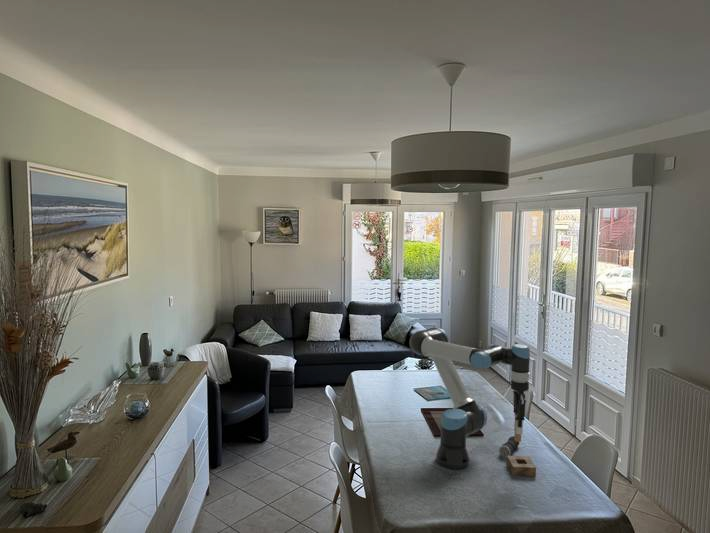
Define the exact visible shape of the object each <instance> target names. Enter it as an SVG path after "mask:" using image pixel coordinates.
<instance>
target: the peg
mask: <svg viewBox="0 0 710 533" xmlns="http://www.w3.org/2000/svg"><path fill="white" fill-rule="evenodd" d="M514 414H515V415H514V423H515V431H514V436H515V438H514V440H515V441H517V442H519V443H520V442H522V434H516V420H515V418H517V413H514Z"/></svg>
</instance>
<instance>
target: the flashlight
mask: <svg viewBox="0 0 710 533" xmlns="http://www.w3.org/2000/svg"><path fill="white" fill-rule="evenodd" d="M514 438H515V435H513V436H510V437H509V438H508V439H507V441H506V442H505V443H503V444H502V445H501V446H500V447H499V449H498V452H499V454H500V456H501V457H503V458H507V456H512V454H513V452H514V451H515V449H516V448H518V447H519V446H520V442H517V441H515V440H514Z"/></svg>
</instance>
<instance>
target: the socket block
mask: <svg viewBox="0 0 710 533" xmlns="http://www.w3.org/2000/svg"><path fill="white" fill-rule="evenodd" d="M506 465H507V467H508V469H509V471H510V473H511V475H512V476H518V477H521V476H523V477H536V476H537V467H536V465H535V463H534V462H533V461H532V459H531V457H530V456H524V455H523V456H521V455H510V456H507V457H506Z"/></svg>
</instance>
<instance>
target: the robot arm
mask: <svg viewBox="0 0 710 533" xmlns="http://www.w3.org/2000/svg"><path fill="white" fill-rule="evenodd" d="M449 339H450V338H449V336H448V334H447V332H446V331H445V329H443V328H440V327H430V328H427V329H422V330H417V331H416V332H414V333H413V334H412V335H411V336H410V338H409V347H410V349H411V351H412V352H413V353H414V354H417V355H419V356H424V357H427V358H428V359H429V360H432V362H433V364H434V366H435V368H436V370H437V372H438V374H439V376H440V378H441V381H442V383H443V385H444V388H445V389H446V391H447V393H448V395H449V397H450V400H451V401H452V403H453V408H449V409H446V410H445V411H443V412H442V413H441V418H440V440H439V441H440V444H439V447H438V449H437V451H436V454H435V461H436V463H437V464H438V465H439V466H441V467H442V468H444V469H445V468H446V469H450V470H463V469H465V468H468V466H469V464H470V457H469V453H468V450H467V437H468V436H471V435H472V434H474V433H476V432H479V431H480V430H482V429H483V428H485V426H486V425H487V421H488V416H487V415H488V414H487V412H486V410H485V409H484V407H483V406H481V404H478V403H477V402H476V400H475V399H474V398H472V397H470V395H469V393H468V391H467V389H466V387H465V385H464V382H463V381H462V378H461V377H460V375H459V374H460V373H458V371H457V368H456V366H455V364H454V363H453V362H457V363H462V364H466V365H470V366H472V367H473V368H475V370H486V369H488V368H491V367H494V366H496V365H499V364H503V365H508V366H510V368H511V369H510V389H511V390H513V391H512V393H513V414H514V416H515V413H517V418H515V417H514V421H515V420H516V434H521V435H523V426H524V421H525V415H526V414H525V413H526V402H527V401H526V399H525V398H526V395H525V392H528V391H529V389H530V387H529V386H530V382H529V380H530V376H531V373H530V358H531V355H530V354H531V353H530V351H531V350H530V347H529V346H528V345H526V344H518V343H517V344H516V343H515V344H513V345H511V347H507V346H502V345H499V344H489V345H488V346H487V347H486V349H480V348H475V347H470V346H465V345H461V344H456V343H452V342H449V341H450V340H449ZM513 431H514V432H515V422H514V428H513Z"/></svg>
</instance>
